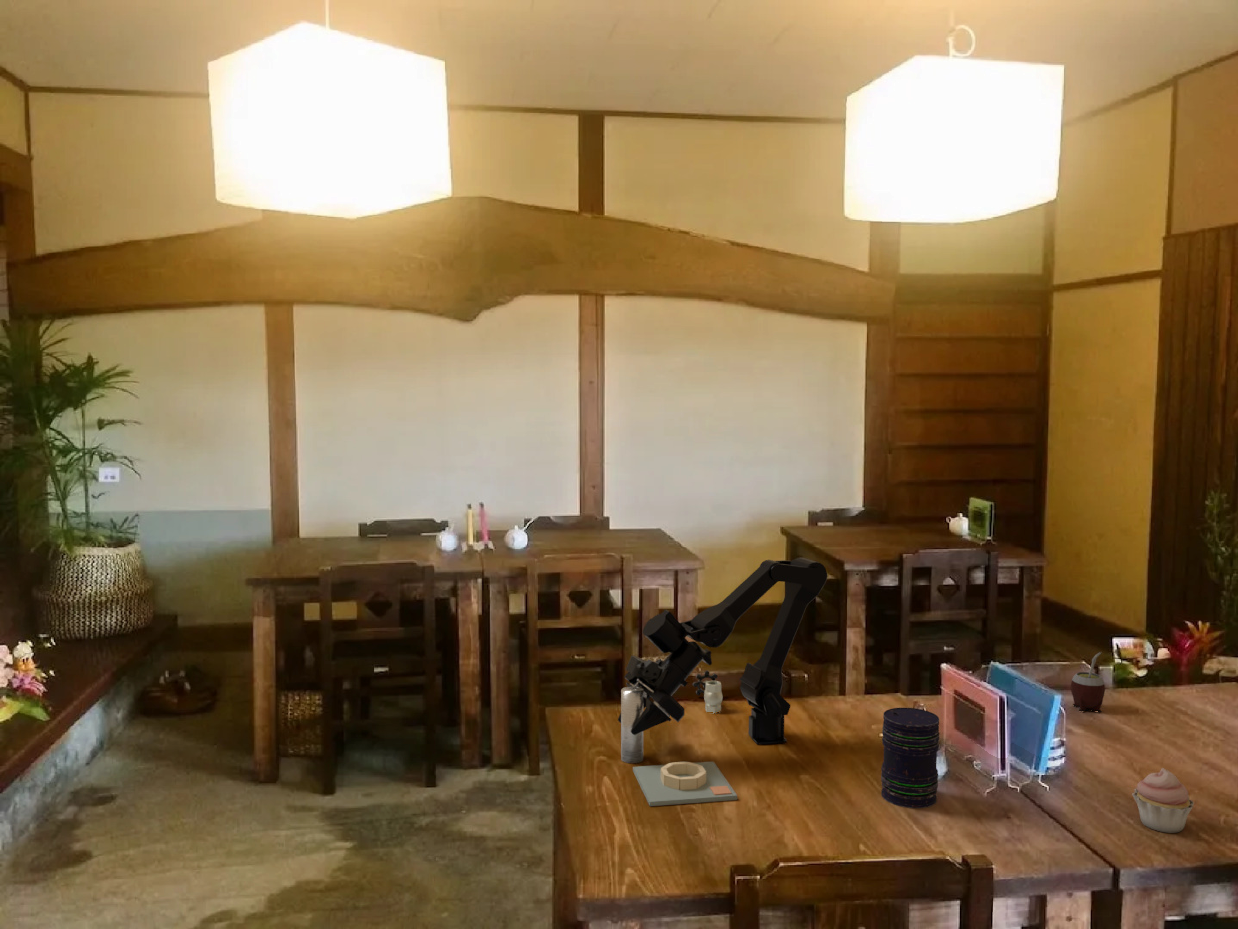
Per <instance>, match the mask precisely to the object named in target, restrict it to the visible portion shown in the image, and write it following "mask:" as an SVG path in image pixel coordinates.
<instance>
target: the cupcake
mask: <svg viewBox="0 0 1238 929" xmlns="http://www.w3.org/2000/svg"><path fill="white" fill-rule="evenodd" d="M1133 791H1134V792H1133V793H1131V795H1132V797H1133V799H1134V801H1135V803H1136V804H1137V808H1138V813H1139V817H1140V821H1141V823H1142V824H1143V825H1144V826H1145V827H1146V828H1148V829H1151V830H1153V831H1158V832H1161V833H1169V834H1170V833H1171V834H1175V833H1180V832H1181V831H1183V830H1184V828H1185V826H1186V823H1187V820H1188V817H1189V816H1188V815H1189V814H1190V812H1191V811H1192V809H1193V808H1194V804H1195V802H1194V801H1193V800H1191V799H1190V797H1189V791H1188V790H1187V787H1186V786H1185V785H1184V784H1183V783H1181V782H1180V780H1179V779H1178V777H1177V776H1176V775H1175V774H1174V773H1173V772H1171V771H1169V770H1168V769H1165V768H1164V767H1162V768H1161V769H1160V771H1159V772H1152V773H1151V772H1150V773H1149V774H1148V775H1147V776H1146V777H1144V778H1143V779H1142V780H1140V781H1139V782H1138V783H1137V785H1136V788H1134V790H1133Z"/></svg>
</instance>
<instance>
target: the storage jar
mask: <svg viewBox="0 0 1238 929" xmlns="http://www.w3.org/2000/svg"><path fill="white" fill-rule="evenodd" d="M882 716H883V722H882V723H883V724H882V725H883V726H882V731H881V732H882V733H881V735H882V738H881V741H882V746H883V762H882V764H881V773H880V775H881V777H880V781H881V788H882V789H881V790H880V791H881V794H880V795H881V797H882V798H883V800H885V801H886V802H888V803H890V804H892V805H894V806H898V807H902V808H908V809H925V808H929V807H932V806H934V805H935V804H936V803H937V800H938V798H937V797H938V796H937V792H938V786H939V779H938V778H939V770H938V768H937V761H938V760H937V758H938V751H939V749H940V748H939V747H940V742H939V741H940V728H939V726H940V718H939V716H938V715H936V714H935V713H933V712H931V711H928V710H925V709H920V708H915V707H894V708H890V709H887V710H885V711H884V712H883V715H882Z"/></svg>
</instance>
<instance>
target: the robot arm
mask: <svg viewBox="0 0 1238 929" xmlns="http://www.w3.org/2000/svg"><path fill="white" fill-rule="evenodd" d="M828 574H829V573H828V572H827V569H826V567H825V566H824V565H823V563H821V562H818V561H815V560H811V559H809V558H806V557H796V558H795V559H792V560H783V559H782V560H772V559H767V560H764V561H762V562H761V563H760V565H759V567H757V569H755V570H754V571H753V572H752V573H751V574H750V575H749V576H748V577H747V578H746V579H745V580H743V582H741V583H740V584H739V585H738V586H737V587H736V588H735V589H734V590H733V591H731V593H729V594H728V595H727V596H726V598H724V599H723V600H722V601H720V602H719V603H717V604H714V605H712V606H710V607H708V608H707V607H706V608H705V609H703V610H702V611H700V613H698V614H697V615H695V616H694V617H693V618H692V619H689V620H686V621H685V620H684V621H681V622H679V621H678V620H677V619H676V617H675V616H674V614H673V613H672V612H671V611H669V610H667V609H664V610H662V612H661V613H658V614H656V615H654V616H653V617H652V618H650V619H648V621H647V622H646V623H645V625H644V627H643V630H642V634H643V636H645V638H647V639H648V640H649V641H650V643H652V644H653V645H654V646H655V647H656V648H657V649H658V650H659V651H660V652H661V653H662V654H668V653H669V654H668V655H667V656H666V657H665V658H664V660H662V659H660V658H659V659H657V660H656V661H652V660H651V659H647V660H646V659H644V658H641V657H639V656H636V655H634V654H633V655H631V656H630V657H629V658H630V659H629V661H628V664H627V666H626V667H625V671H626V672H627V673H625V675H624V676H623V678H624V679H625V680H626V681H627V682H626V687H639V688H642V689H643V690H644V695H643V713H642V714H641V716H640V717H639V719H638V720H637V722H636V723H635V724H634V726H633V728H632V729H631V733H632V734H633V735H636V734H638V733H640V732H642V731H643V732H644V731H647V730H649V729H651V728H653V727H655V726H658V725H661V724H663V723H666V722H671V721H672V719H673V720H674V721H676V722H677V723H679V722H680V721H681V720H682V719H683V718H684V716H685V707H683V705H682V704H680V703H679V702H678V701H677V700H676V699H675V698H674V697H673V695H675V694H674V693H676V692H677V690H678V689H679V688H680V687H681V686H682V687H684V688H685V687H686V686H687V685H688V683H689V682H687V680H686V679H688V677H689V676H690V675H691V674H692V673H693V671H695V669H696V668H697V667H698V665H699V664H700V663H701V662H704V663H705V664H707V665H709V666H711V665H712V664H713V662H712V651H711V650H709V649H708V648H703V647H701V646H700V645H699V644H698V643H701V644H702V645H704V646H706V647H709V648H718V647H720V646H721V645H723V644H724V643H725V642H726V640H727V639H728V638H729V636H730V635H731V634H732V632H733V631H734V628H735V625H736V623H737V621H738V620H739V619H740V618H741V617H742V616H743V615H744V614H745V613H746V612H747V611H748V610H749V609H751V607H753V605H755V603H758V601H759V600H760V599H761V598H762V597H763V596H764V595H765V594H766V593H767V592H769V591H770V590H771V589H772V587H774V586H775V585H776V584H777V583H778V582H783V583H784V589H785V590H784V591H785V596H784V598H783V602H782V603H781V606H780V608H779V611H778V613H777V615H776V618H775V620H774V623H773V626H772V628H771V631H770V633H769V635H768V638H767V641H766V643H765V646H764V648H763V650H762V653H761V655H760V657H759V659H758V660H757V661H756V662H755V663H754V664H752V663H750V662H747V663H746V665H745V668H744V671H743V674H742V676H741V677H740V678H739V681H740V685H739V690H740V692H741V694H742V696H743V697H744V698H745V699H746V701H747V704H748V706H751V710H750V711H751V712H750V713H751V715H749V716H748V733H747V734H748V735H749V736H750V737H751V739H752V740H753V741H754V743H756V745H770V744H771V745H772V744H782V743H784V744H786V743H787V742H788V740H787V738H786V737H785V716H787V715H789V712H790V708H791V704H790V703H789V702H788V701H787V700H786V699H785V698H784V696H782V695H781V693H782V687H783V666H784V663H785V661H786V658H787V656H788V653H789V652H790V649H791V646H792V645H793V642H794V639H795V636H796V634H797V631H798V629H799V627H800V624H801V621H802V619H803V617H804V614H805V612H806V609H807V607H808V605H809V604H810V603H811V602H812V601H813V600H814V599H815V598H817V596H819V595H820V592H821V591H822V590H823V588H824V586H825V584H826V582H827V580H828ZM686 637H688V638H689V639H691V640H692V641H689V640H687V638H686ZM650 699H652V700H653V701H652V700H650ZM671 718H672V719H671ZM617 721H618V723H620V724H621V712H620V714H619V715H618V718H617Z"/></svg>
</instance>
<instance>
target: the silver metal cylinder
mask: <svg viewBox="0 0 1238 929" xmlns="http://www.w3.org/2000/svg"><path fill="white" fill-rule="evenodd" d="M620 693H621V694H620V696H621V697H620V705H621V706H620V708H621V710H620V713H621V723H620V725H621V726H620V741H621V742H620V759H621V761H622V762H624V763H626V764H639V763H641V762H642V761H644V731H642V732H640V733H638V734H636V735H633V734H632V733H631V729H632V728H633V726H634V724H635V723H636V722H637V720H638V719H639V717H640V716H641V714H642V713H643V712H644V709H643V695H644V690H643V689H642V688H639V687H628V686H626V687H623V688H621V689H620Z"/></svg>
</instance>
